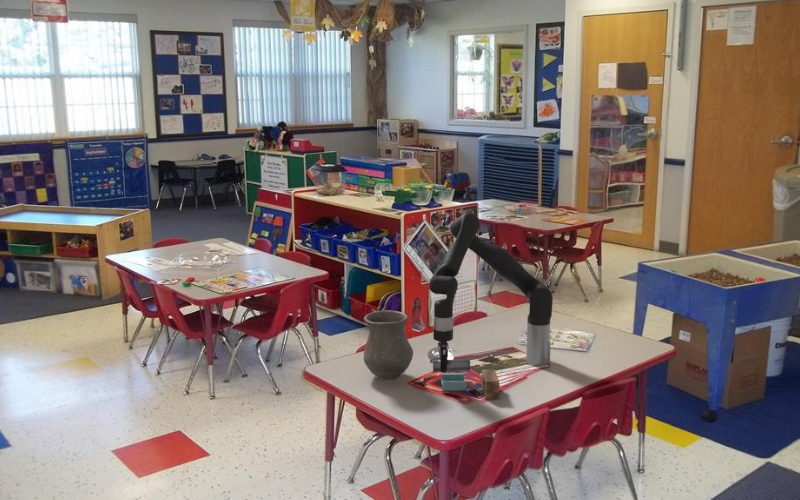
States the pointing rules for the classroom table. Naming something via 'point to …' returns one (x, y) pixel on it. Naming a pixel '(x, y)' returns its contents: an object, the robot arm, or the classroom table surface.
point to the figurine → (434, 354)
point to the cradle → (453, 381)
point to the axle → (453, 365)
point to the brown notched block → (490, 384)
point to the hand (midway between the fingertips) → (442, 369)
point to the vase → (387, 344)
